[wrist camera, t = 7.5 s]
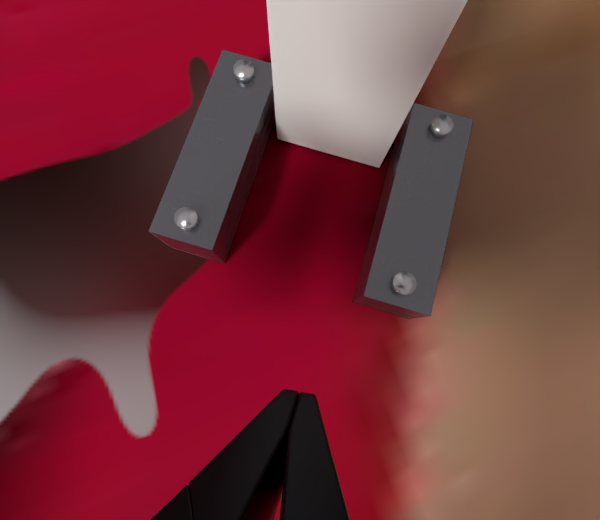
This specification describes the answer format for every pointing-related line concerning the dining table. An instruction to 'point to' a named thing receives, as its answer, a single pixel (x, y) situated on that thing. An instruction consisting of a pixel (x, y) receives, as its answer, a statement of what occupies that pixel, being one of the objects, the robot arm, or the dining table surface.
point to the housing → (245, 162)
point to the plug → (352, 69)
